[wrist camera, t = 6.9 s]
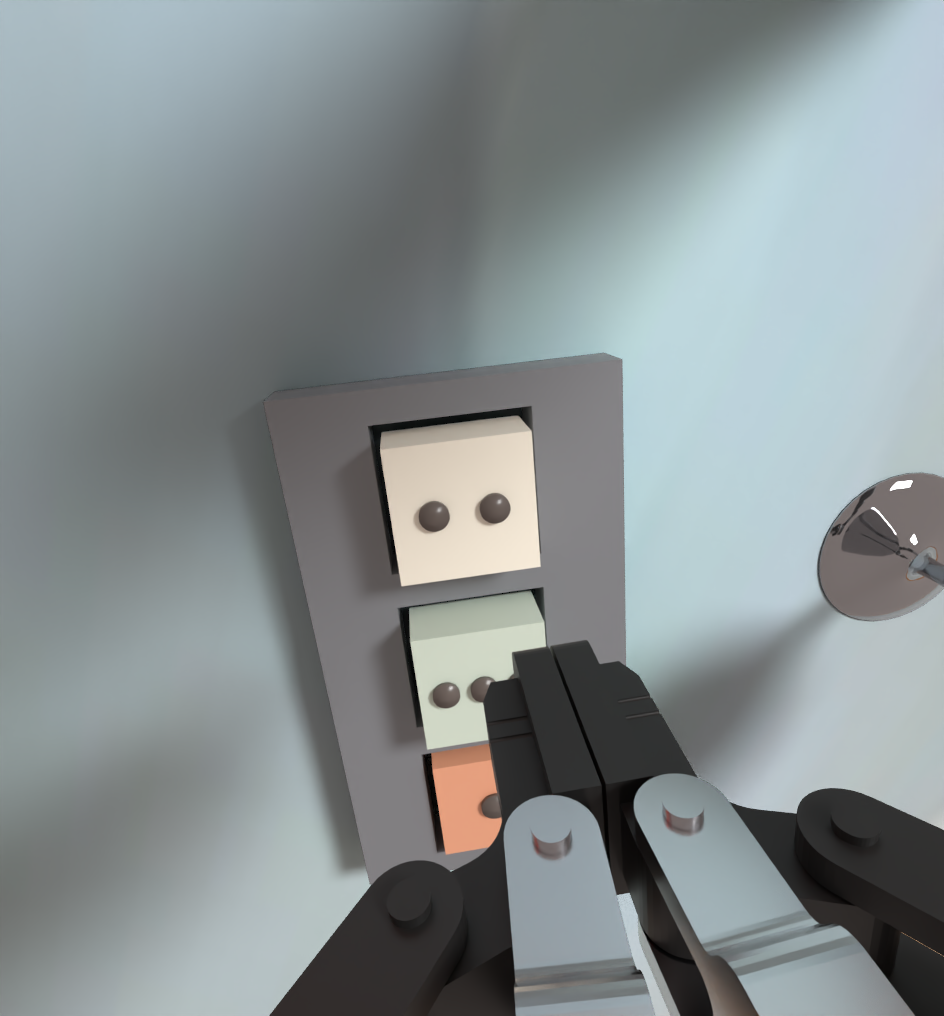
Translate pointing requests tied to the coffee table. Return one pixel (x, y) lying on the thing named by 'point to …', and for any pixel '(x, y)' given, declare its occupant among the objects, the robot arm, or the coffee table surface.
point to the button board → (379, 595)
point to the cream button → (461, 499)
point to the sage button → (468, 659)
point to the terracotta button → (466, 798)
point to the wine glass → (886, 549)
